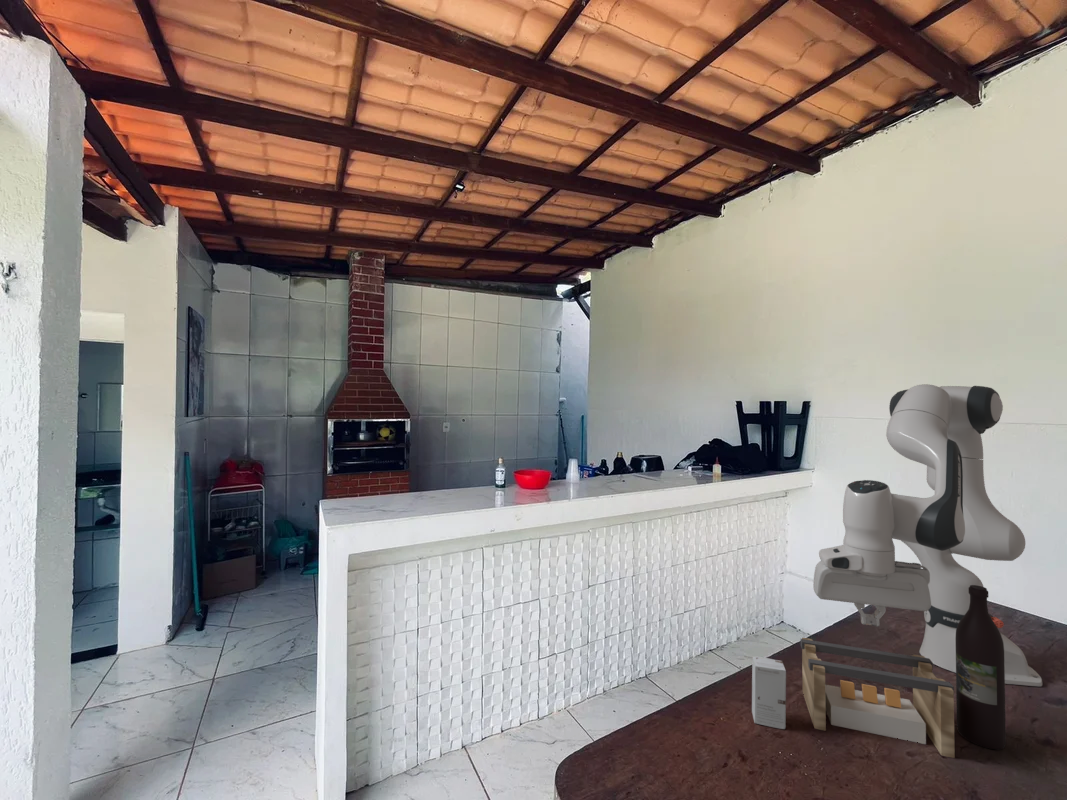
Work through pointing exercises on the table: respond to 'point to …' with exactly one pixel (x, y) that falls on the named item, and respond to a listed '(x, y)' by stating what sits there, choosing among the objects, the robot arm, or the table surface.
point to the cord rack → (927, 703)
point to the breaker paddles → (870, 693)
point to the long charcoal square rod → (866, 653)
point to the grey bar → (880, 676)
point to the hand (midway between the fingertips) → (869, 624)
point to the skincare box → (769, 692)
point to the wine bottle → (980, 675)
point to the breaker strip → (874, 716)
